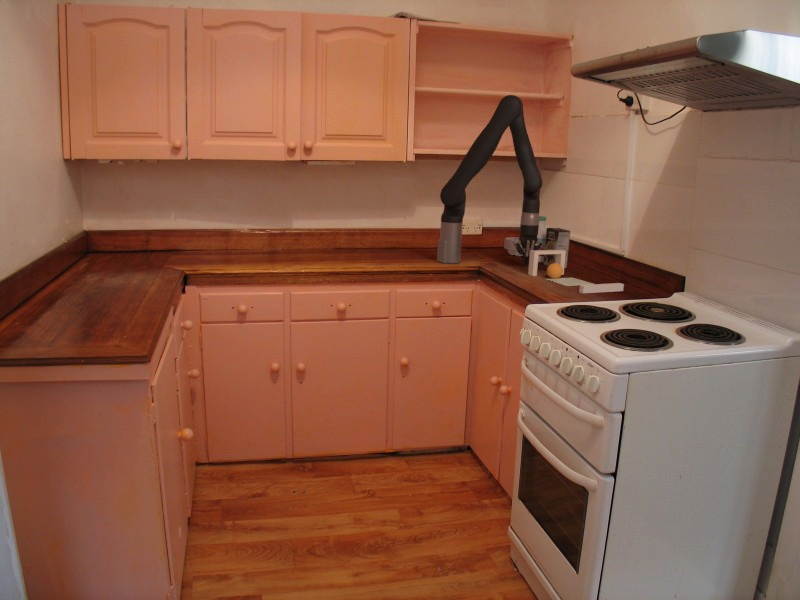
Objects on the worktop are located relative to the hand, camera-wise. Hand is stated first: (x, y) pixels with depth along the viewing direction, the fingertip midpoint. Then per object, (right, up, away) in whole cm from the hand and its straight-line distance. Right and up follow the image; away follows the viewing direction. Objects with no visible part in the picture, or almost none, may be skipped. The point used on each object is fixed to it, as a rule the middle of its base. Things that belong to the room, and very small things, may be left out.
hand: (526, 265), depth 281 cm
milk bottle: (+9, +3, +21) cm, 23 cm away
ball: (+7, -3, -20) cm, 22 cm away
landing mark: (+12, -8, -25) cm, 29 cm away
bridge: (+6, -4, -12) cm, 14 cm away
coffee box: (+14, 0, +10) cm, 17 cm away
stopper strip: (+19, -12, -41) cm, 47 cm away
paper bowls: (+4, +6, +37) cm, 38 cm away
